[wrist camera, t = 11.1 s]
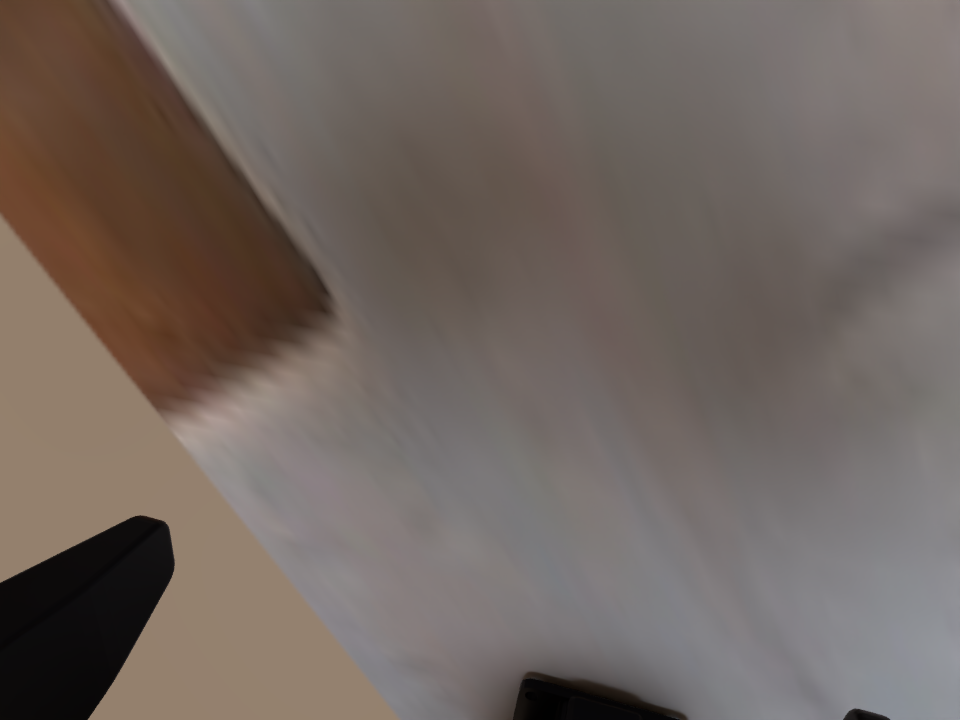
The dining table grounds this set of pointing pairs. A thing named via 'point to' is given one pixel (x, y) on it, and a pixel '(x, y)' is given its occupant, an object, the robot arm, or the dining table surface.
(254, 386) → the dining table surface
